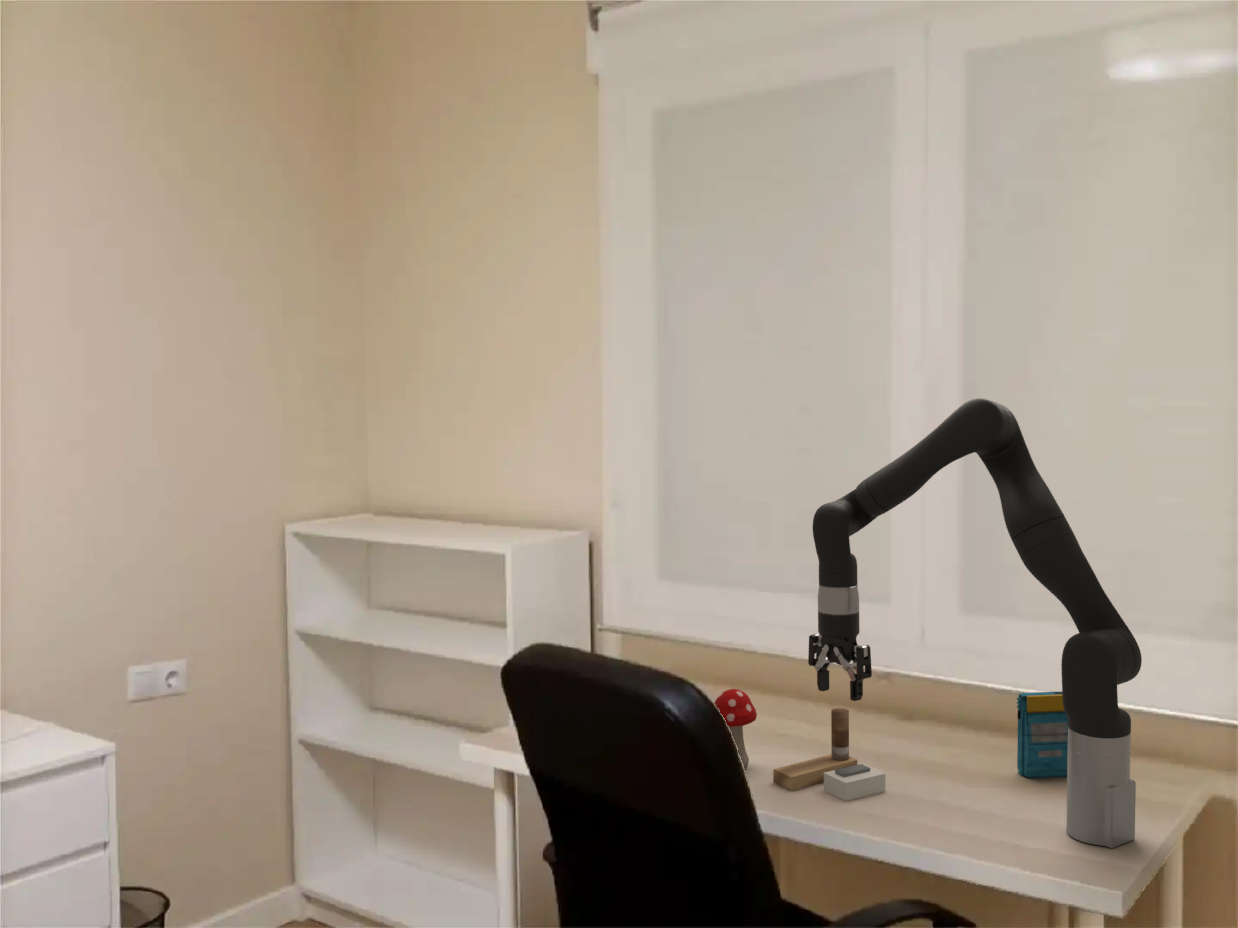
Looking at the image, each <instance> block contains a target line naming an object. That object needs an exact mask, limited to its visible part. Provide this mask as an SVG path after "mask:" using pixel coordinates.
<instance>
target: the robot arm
mask: <svg viewBox="0 0 1238 928" xmlns="http://www.w3.org/2000/svg"><path fill="white" fill-rule="evenodd" d="M973 453H976V454H977V455H978V457H979V459H980V460H981V461H982V463H983V464H984V466H985V467H986V469H987V471H988V472H989V475H990V476H991V478H992V480H993V482H994V484H995V486H996V488H997V492H998V495H999V500H1000V504H1001V510H1002V515H1003V520H1004V522H1005V527H1006V530H1007V532H1008V535H1009V537H1010V540H1011V542H1012V543H1013V545H1014V547H1015V550H1016V552H1017V554H1018V555H1019V558H1020V560H1021V561H1022V563H1023V565H1024V567H1026V569H1027V571H1029V572H1030V574H1031V575H1032V576H1033V577H1034V578H1035V580H1037V581H1038V582H1039V583H1040V584H1041V585H1042V586H1043V587H1044V588H1046V590H1047V591H1049V592H1050V594H1051V595H1053V596H1054V597H1055V598H1056V599H1057V600H1058V601H1059V602H1060V603H1061V605H1062V606H1064V609H1066V611H1067V612H1068V614H1069V615H1070V617H1071V619H1072V621H1073V623H1074V625H1075V627H1076V629H1077V631H1078V633H1076V634H1073V635H1072V636H1071V637H1069V639H1068V640H1067V641H1066V642H1065V645H1064V646H1063V650H1062V654H1061V664H1060V665H1061V691H1062V697H1063V706H1064V710H1065V712H1066V714H1067V717H1068V756H1067V777H1066V830H1065V831H1066V833H1067V834H1068V836H1070V837H1072V838H1073V839H1075V840H1077V841H1079V842H1081V843H1085V844H1089V845H1095V846H1103V847H1106V848H1110V849H1113V848H1116V847H1118V846H1121V845H1124V844H1126V843H1129V842H1132V841H1134V840H1135V839H1136V838H1135V837H1136V800H1137V799H1136V794H1137V793H1136V790H1137V785H1136V783H1137V782H1136V781H1135V780H1134V779H1131V744H1132V743H1131V739H1132V738H1131V737H1132V718H1131V716H1130V713H1128V712H1127V711H1126V710H1124V709H1122V708H1120V707H1119V699H1118V698H1119V697H1118V696H1119V695H1118V686H1119V685H1121V684H1125V683H1127V682H1130V681H1131V680H1133V679H1135V678H1136V677H1137V676H1138V675H1139V673H1140V671H1141V669H1142V668H1141V667H1142V653H1141V649H1140V646H1139V644H1138V642H1137V640H1136V638H1135V636H1134V634H1133V633H1132V631H1131V630H1130V628H1129V627H1128V626H1127V623H1126V622H1125V621H1124V619H1123V618H1122V617H1121V615H1120V614H1119V612H1118V611H1117V609H1116V608H1115V606H1114V604H1113V603H1112V601H1111V599H1110V598H1109V596H1108V595H1107V593H1106V592H1105V590H1104V588H1103V587H1102V585H1101V583H1100V581H1099V580H1098V577H1097V576H1096V573H1095V572H1094V570H1093V568H1092V566H1091V565H1090V562H1089V561H1088V560H1087V557H1086V555H1085V554H1084V553H1085V552H1083V550H1082V548H1081V546H1080V543H1079V541H1078V539H1077V537H1076V535H1075V533H1074V531H1073V530H1072V527H1071V526H1070V524H1069V522H1068V520H1067V518H1066V516H1065V514H1064V513H1063V510H1062V509H1061V507H1060V506H1059V504H1058V503H1057V499H1055V496H1054V495H1053V493H1052V492H1051V490H1050V488H1049V487H1048V485H1047V483H1046V482H1045V479H1043V477H1042V476H1041V474H1040V472H1039V471H1038V469H1037V467H1036V465H1035V463H1034V461H1033V459H1032V456H1031V453H1030V450H1029V448H1028V446H1027V443H1026V441H1025V438H1024V436H1023V433H1022V431H1021V427H1020V425H1019V422H1018V420H1017V418H1016V416H1015V415H1014V413H1013V412H1012V411H1011V410H1010V409H1009V408H1008V407H1006V406H1005V405H1003V404H1001V403H998V402H996V401H994V400H991V399H987V398H980V397H979V398H972V399H970V400H968V401H966V402H964V403H963V404H961V405H960V406H959V407H958V408H957V409H955V410H954V411H953V412H952V413H951V414H950V415H948V417H946V418H945V420H943V421H942V422H941V423H940V424H939V425H938V426H937V427H936V428H934V429H933V430H932V431H931V432H930V433H928V434H927V435H926V436H924V438H922V440H920V441H919V442H918V443H916V444H915V445H913V447H911V448H910V449H908V450H907V451H906V452H904V453H903V454H901V455H900V456H898V457H897V458H896V459H894V460H893V461H891V462H890V463H888V464H887V465H885V466H884V467H881V468H880V469H879V470H877V471H875V472H874V473H873V474H871V475H869V476H868V477H866V478H865V479H864V480H862V481H861V482H860V483H859V484H857V486H856V488H855V489H853V490H852V491H850V492H848V493H846V494H845V495H844V496H842V497H841V498H840V497H839V498H838V499H836V500H834V501H830V502H827V503H826V502H825V504H822V505H820V506H819V507H818V509H816V511H815V513H814V515H813V519H812V536H813V541H814V547H815V551H816V555H817V559H818V592H817V629H818V630H817V632H818V633H814V634H811V635H809V636H808V656H807V657H808V659H807V663H808V665H809V666H810V667H814V670H815V671H816V679H817V680H816V683H817V690H818V691H820V692H827V691H829V690H830V670H829V668H830V667H831V665H832V664H834V663H835V664H837V665H839V666H841V667H842V668H843V671H846V672H847V674H848V676H849V678H850V680H849V689H850V690H849V694H850V695H849V696H850V701H853V702H856V701H857V702H858V701H860V700H862V698H863V696H864V690H863V689H864V687H863V686H864V684H863V683H864V680H865V679H871V678H872V676H873V675H872V673H873V672H872V671H873V670H872V656H871V654H872V653H871V646H870V645H869V644H865V645H859V644H858V642H857V637H858V635H859V634H860V592H859V587H858V561H857V560H858V559H857V558H856V556H855V555H854V554H853V553H851V551H852V550H851V543H850V542H851V541H850V537H851V536H853V535H854V534H856V533H858V532H859V531H861V530H862V529H864V528H865V527H867V526H868V525H869V524H870V523H873V521H874V520H875V519H877V518H878V517H880V516H881V515H883V514H885V513H887V512H889V511H891V510H893V509H894V508H896V507H897V506H899V505H900V504H902V503H904V502H905V501H906V500H908V499H909V498H911V497H912V496H913V495H915V494H916V493H917V492H918V491H919V490H921V488H922V487H924V485H926V483H928V481H930V480H931V479H932V478H933V476H934V475H936V474H937V473H938V472H939V471H941V470H943V468H944V467H947V466H948V465H950V464H952V463H954V462H955V461H957V460H959V459H962V458H963V457H966V456H969V455H971V454H973ZM851 662H852V663H851Z"/></svg>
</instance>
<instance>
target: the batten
mask: <svg viewBox="0 0 1238 928" xmlns="http://www.w3.org/2000/svg"><path fill="white" fill-rule="evenodd" d="M855 765H858V759H857V758H854V757H852V756H850V755H849V759H848V760H846V761H836V760H833V759H832V753H830V754H827V755H826V754H825V755H821V756H820V757H815V758H811V759H806V760H803V761H799V762H796V763H793V764H787V765H784V766H780V767H777V768H773V770H772V771H773V774H772V775H773V777H772V779H773V784H775V785H778V786H780V787H782V788H785V789H786V790H788V791H796V790H799V789H805V788H806V787H810V786H814V785H817V784H821V783H824V773H825V772H829V771H833V770H837V769H842V768H846V767H851V766H855Z"/></svg>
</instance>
